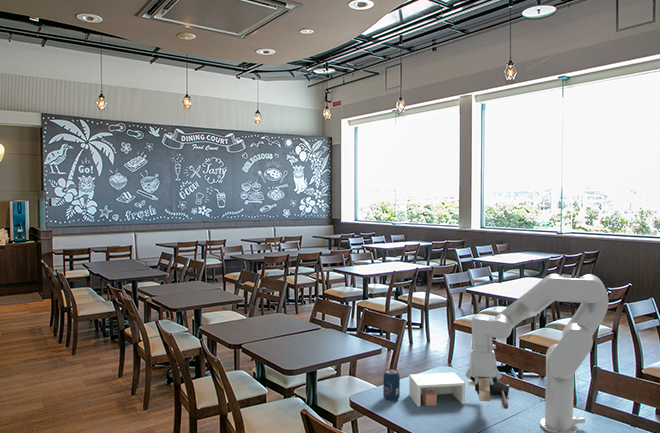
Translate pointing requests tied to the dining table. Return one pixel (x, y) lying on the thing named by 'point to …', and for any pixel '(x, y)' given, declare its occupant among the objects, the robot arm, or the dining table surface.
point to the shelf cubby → (436, 385)
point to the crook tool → (482, 388)
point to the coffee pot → (501, 390)
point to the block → (429, 397)
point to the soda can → (391, 385)
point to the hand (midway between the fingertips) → (484, 392)
